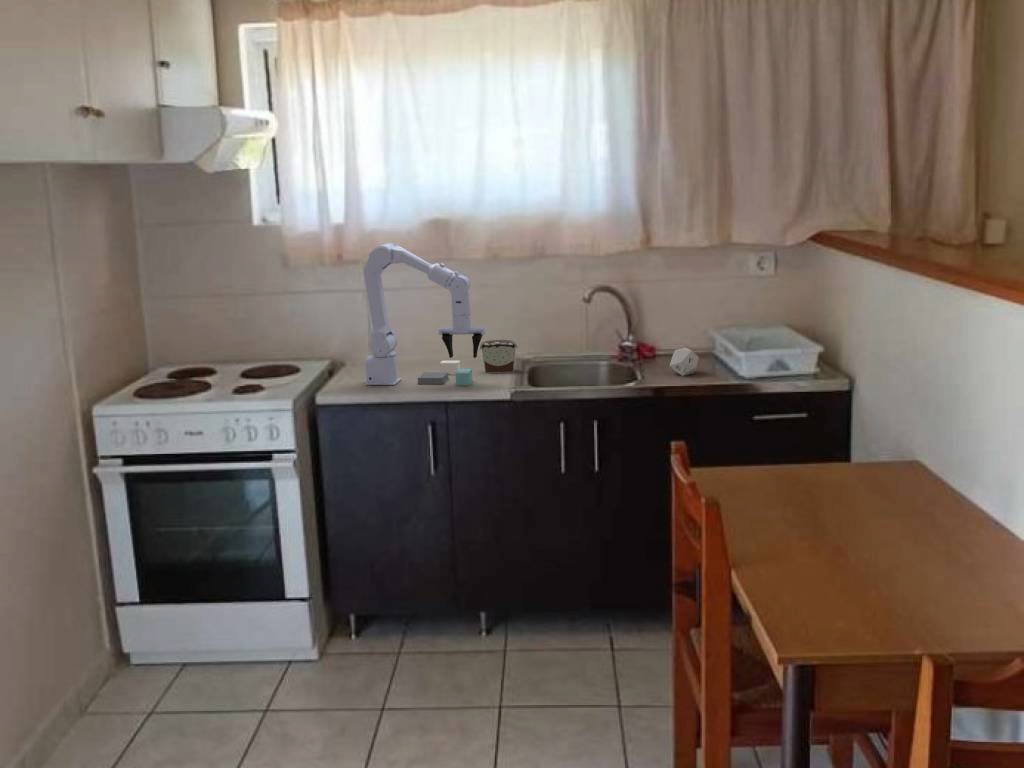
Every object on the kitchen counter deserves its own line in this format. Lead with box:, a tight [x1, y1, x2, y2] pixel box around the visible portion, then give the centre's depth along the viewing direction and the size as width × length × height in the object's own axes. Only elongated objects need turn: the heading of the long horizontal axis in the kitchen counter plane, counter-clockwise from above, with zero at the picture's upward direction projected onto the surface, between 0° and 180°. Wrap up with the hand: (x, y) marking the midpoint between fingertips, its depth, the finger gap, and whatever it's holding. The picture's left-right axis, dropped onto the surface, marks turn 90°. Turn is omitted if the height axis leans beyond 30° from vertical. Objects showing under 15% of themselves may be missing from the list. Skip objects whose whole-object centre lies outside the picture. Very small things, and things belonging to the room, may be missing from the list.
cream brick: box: [439, 359, 462, 376], centre depth 335 cm, size 6×4×4 cm, turn 81°
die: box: [669, 347, 700, 377], centre depth 323 cm, size 8×9×10 cm
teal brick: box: [455, 368, 473, 386], centre depth 321 cm, size 4×6×4 cm, turn 171°
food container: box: [479, 339, 518, 374], centre depth 336 cm, size 12×6×10 cm, turn 84°
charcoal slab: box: [417, 371, 449, 385], centre depth 325 cm, size 8×8×2 cm
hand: (463, 357), depth 319 cm, fingers open, 7 cm apart
